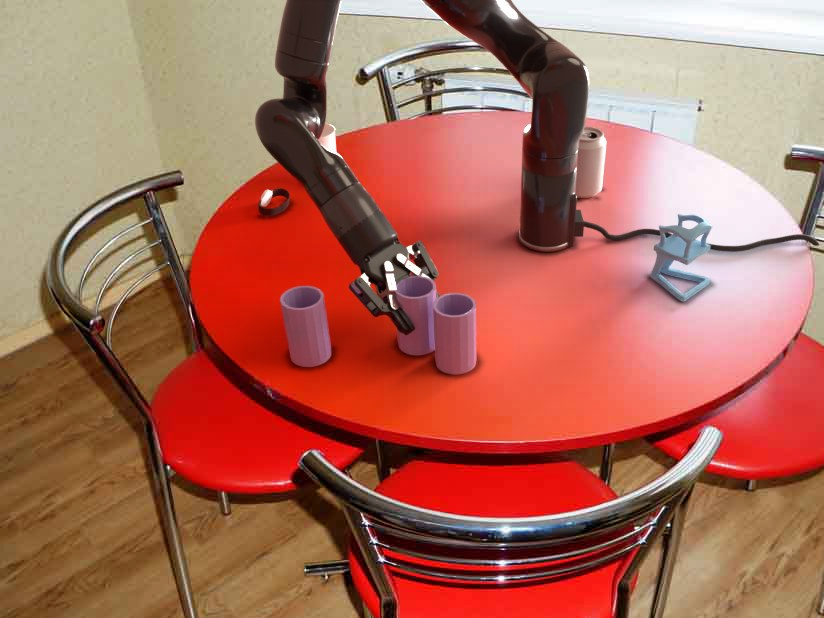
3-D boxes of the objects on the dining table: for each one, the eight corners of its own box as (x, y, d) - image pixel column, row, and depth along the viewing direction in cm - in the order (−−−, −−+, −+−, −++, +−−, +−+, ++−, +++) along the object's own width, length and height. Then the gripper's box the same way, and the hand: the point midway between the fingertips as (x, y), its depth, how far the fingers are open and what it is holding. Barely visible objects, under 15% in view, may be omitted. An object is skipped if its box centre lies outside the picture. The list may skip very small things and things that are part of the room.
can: (603, 200, 162) (609, 140, 154) (563, 199, 162) (567, 140, 154) (600, 182, 168) (605, 124, 160) (562, 181, 168) (566, 123, 160)
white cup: (306, 191, 163) (299, 141, 157) (294, 174, 169) (287, 126, 162) (346, 183, 166) (340, 134, 160) (332, 167, 172) (327, 119, 165)
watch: (276, 197, 161) (273, 179, 159) (297, 202, 160) (294, 184, 158) (252, 215, 156) (249, 197, 153) (274, 220, 154) (271, 202, 152)
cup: (475, 348, 125) (475, 292, 119) (477, 374, 121) (476, 316, 115) (435, 350, 125) (432, 293, 119) (435, 375, 120) (432, 317, 114)
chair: (668, 264, 144) (678, 200, 137) (710, 283, 140) (723, 218, 132) (641, 282, 140) (650, 217, 132) (683, 302, 135) (695, 236, 128)
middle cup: (438, 331, 129) (435, 274, 122) (438, 355, 124) (435, 298, 118) (398, 332, 128) (394, 275, 122) (397, 356, 124) (393, 299, 118)
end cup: (333, 342, 126) (325, 285, 120) (329, 366, 122) (321, 309, 115) (293, 343, 126) (283, 286, 120) (287, 367, 121) (277, 310, 115)
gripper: (333, 233, 113) (405, 337, 115) (405, 193, 122) (471, 290, 124) (310, 255, 119) (379, 353, 121) (380, 215, 128) (444, 308, 130)
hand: (425, 321), depth 123 cm, fingers closed on middle cup, 6 cm apart
